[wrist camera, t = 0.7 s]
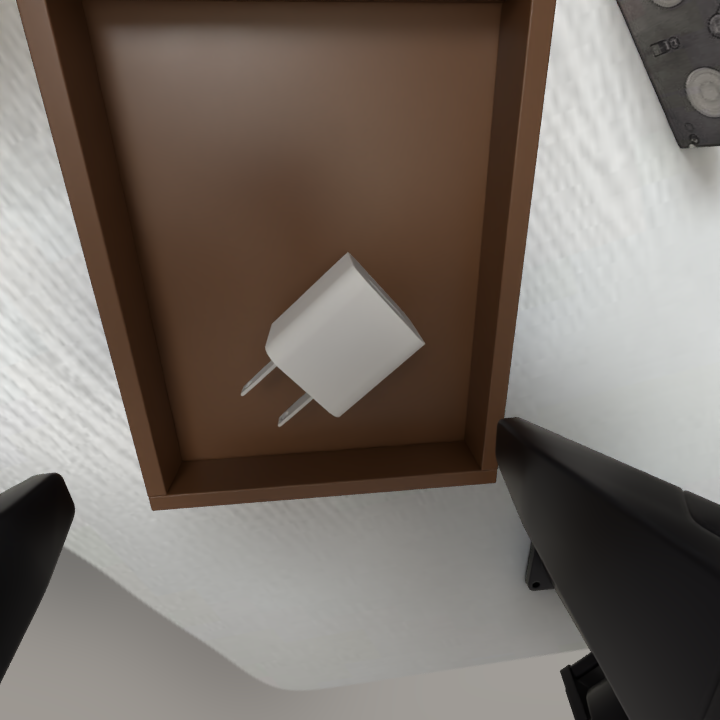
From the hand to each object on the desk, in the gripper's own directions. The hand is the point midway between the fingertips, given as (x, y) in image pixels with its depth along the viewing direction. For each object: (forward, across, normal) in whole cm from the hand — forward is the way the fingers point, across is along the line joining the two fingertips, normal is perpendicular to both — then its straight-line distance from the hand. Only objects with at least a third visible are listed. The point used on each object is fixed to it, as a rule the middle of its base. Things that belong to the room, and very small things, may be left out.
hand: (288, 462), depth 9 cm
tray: (+11, -1, -2) cm, 11 cm away
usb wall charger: (+11, -1, +1) cm, 11 cm away
